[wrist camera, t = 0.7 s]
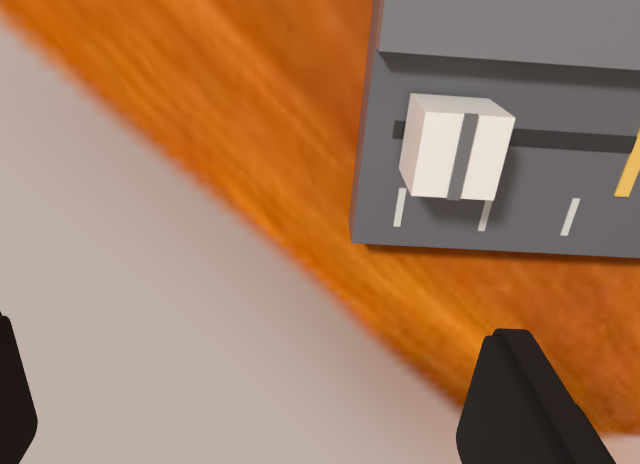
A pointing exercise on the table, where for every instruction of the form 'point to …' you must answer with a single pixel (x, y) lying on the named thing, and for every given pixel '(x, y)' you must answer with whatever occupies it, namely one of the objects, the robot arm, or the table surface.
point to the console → (528, 131)
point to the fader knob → (454, 146)
